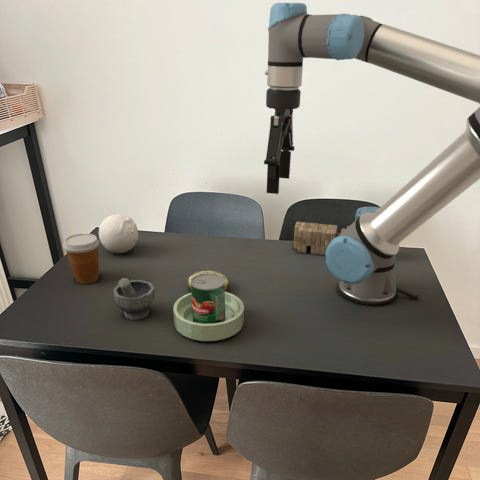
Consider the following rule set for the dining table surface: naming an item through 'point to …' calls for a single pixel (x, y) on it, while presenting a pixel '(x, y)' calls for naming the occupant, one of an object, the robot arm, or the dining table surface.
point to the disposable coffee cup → (83, 256)
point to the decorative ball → (118, 233)
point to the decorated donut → (209, 273)
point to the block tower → (314, 237)
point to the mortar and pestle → (134, 297)
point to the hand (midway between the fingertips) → (278, 185)
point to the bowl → (208, 331)
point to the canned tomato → (208, 298)
